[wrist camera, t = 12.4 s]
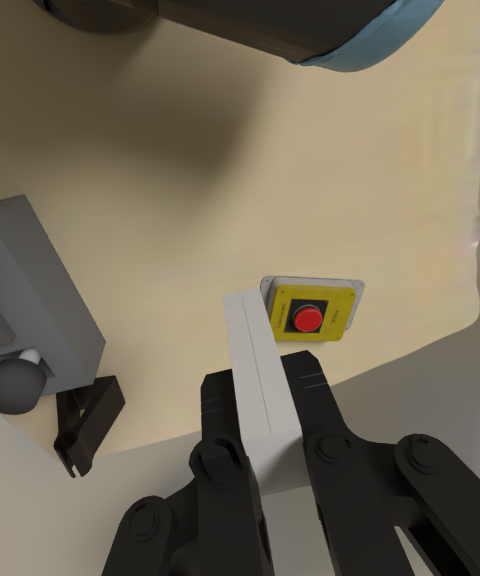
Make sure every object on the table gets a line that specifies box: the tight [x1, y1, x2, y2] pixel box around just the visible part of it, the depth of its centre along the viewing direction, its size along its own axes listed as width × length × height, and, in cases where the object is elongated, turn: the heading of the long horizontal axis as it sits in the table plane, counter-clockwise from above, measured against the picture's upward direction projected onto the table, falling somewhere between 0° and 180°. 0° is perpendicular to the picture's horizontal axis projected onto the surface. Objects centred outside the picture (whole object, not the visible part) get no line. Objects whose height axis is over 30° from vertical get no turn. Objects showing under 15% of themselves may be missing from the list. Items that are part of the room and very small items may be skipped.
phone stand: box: [54, 376, 125, 478], centre depth 51 cm, size 9×6×12 cm, turn 94°
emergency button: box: [260, 275, 364, 341], centre depth 51 cm, size 9×4×15 cm
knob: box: [0, 347, 47, 415], centre depth 43 cm, size 6×6×10 cm
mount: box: [0, 195, 106, 396], centre depth 42 cm, size 22×12×8 cm, turn 12°
